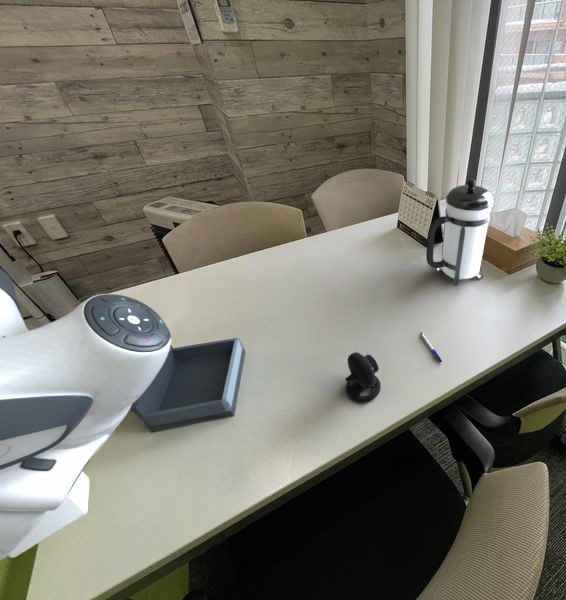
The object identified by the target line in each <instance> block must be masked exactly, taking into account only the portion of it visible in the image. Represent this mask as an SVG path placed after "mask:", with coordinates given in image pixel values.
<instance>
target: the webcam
mask: <svg viewBox="0 0 566 600" xmlns="http://www.w3.org/2000/svg"><path fill="white" fill-rule="evenodd" d="M347 366H348V370H349V372H350V374H349V375H348V376H347V377H345V381H346V384H345V393H346V395H347V397H348V398H349V399H350V400H351V401H352V402H355V403H359V404H365V403H369V402H371V401H373V400H375V399H376V398H377V397H378V396H379V394H380V392H381V387H382V386H381V385H382V384H381V381H380V379H379V378H378V377H377V376H376V373H378V372H379V365H378V363H377V361H376V359H375V358H374V357H373V356H372V355H371V354H366V355H365V356H364V355H363V354H361V353H360V352H357V351H356V352H352V353H350V354H349V355H348V356H347ZM372 387H373V389H372V391H371V392H370V393H368V394H365V395H361V394H362V393H363V392H364V391H366V390H367V389H370V388H372Z"/></svg>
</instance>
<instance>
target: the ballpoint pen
mask: <svg viewBox="0 0 566 600" xmlns="http://www.w3.org/2000/svg"><path fill="white" fill-rule="evenodd" d="M419 333H420V336H421V338H422V339H423V340H424V342H425V344H426V345H427V346H428V348H429V349H430V350H431V352H432V353H433V355H434V357H435V358H436V359H437V361H438V362H439V363H442V362H443V359H442V357H440V355H439V353H438V352H437V351H436V350H435V348H434V347H433V346H432V344H431V343H430V341H429V340H428V338H426V336H425V334H424V333H423V332H419Z"/></svg>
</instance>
